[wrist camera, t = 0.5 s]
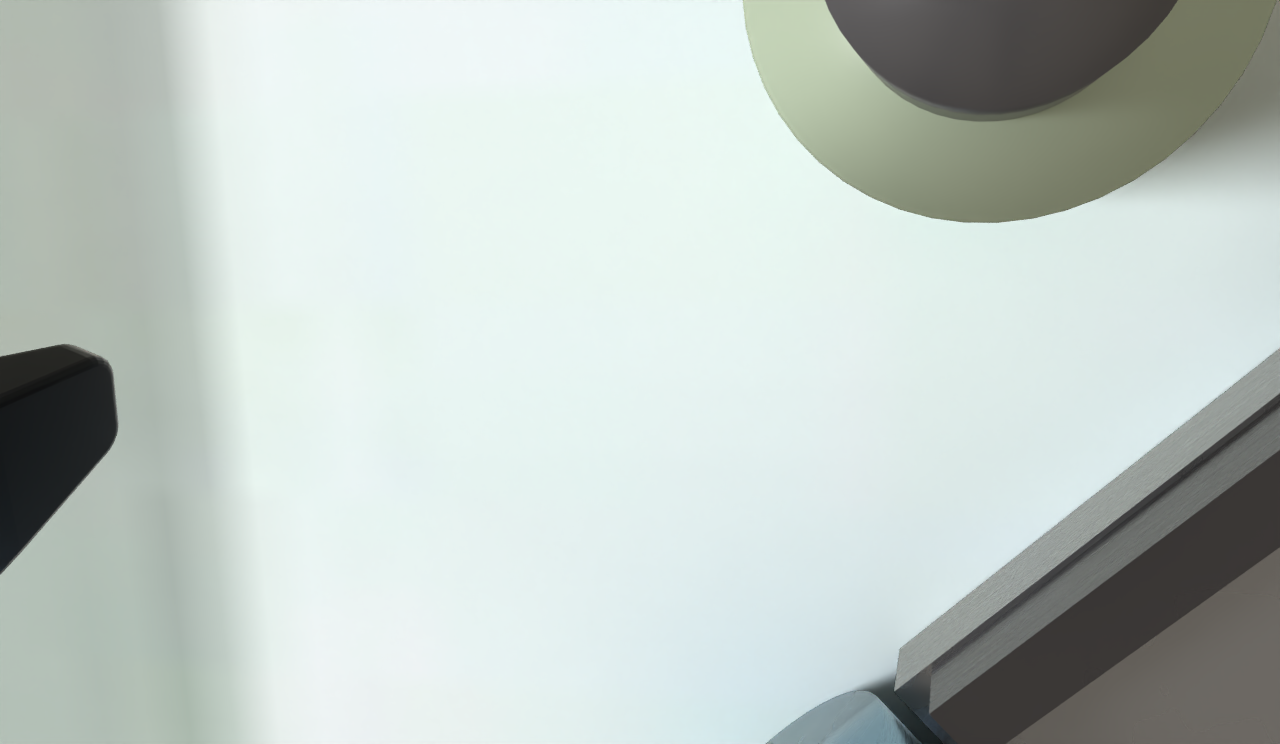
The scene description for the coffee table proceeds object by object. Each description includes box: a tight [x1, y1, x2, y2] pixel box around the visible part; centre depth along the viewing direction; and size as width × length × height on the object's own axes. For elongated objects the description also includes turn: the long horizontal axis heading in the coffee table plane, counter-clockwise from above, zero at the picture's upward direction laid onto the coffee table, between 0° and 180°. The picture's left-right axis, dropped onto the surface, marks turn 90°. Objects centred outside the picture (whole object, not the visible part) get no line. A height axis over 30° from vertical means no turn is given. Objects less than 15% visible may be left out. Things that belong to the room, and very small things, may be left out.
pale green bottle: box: [743, 0, 1276, 223], centre depth 14 cm, size 5×5×12 cm
